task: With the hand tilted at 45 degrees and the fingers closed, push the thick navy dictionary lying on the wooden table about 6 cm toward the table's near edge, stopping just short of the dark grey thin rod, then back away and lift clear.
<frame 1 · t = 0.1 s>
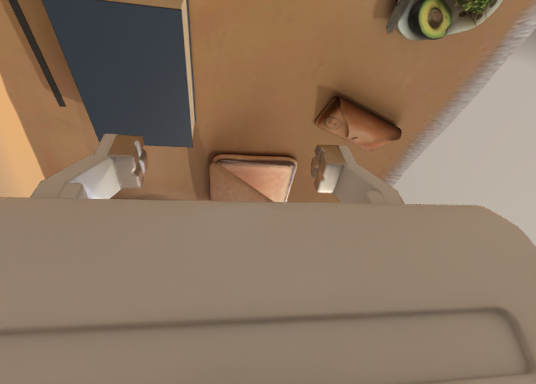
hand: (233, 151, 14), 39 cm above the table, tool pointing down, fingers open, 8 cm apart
sunglasses case: (356, 123, 63), on the table
case: (251, 181, 75), on the table
dark grey thin rod: (37, 52, 46), on the table
dictionary: (143, 61, 49), on the table
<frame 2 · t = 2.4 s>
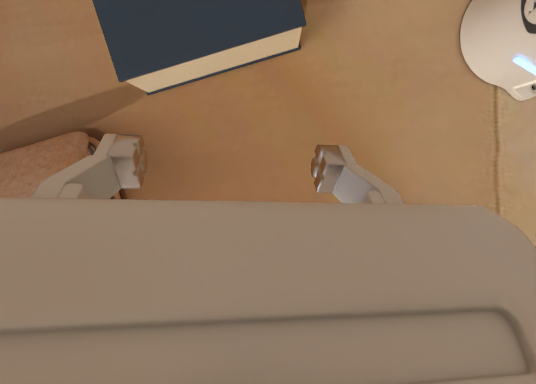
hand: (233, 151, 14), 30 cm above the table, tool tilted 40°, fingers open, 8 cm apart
case: (63, 212, 45), on the table
dictionary: (206, 15, 41), on the table
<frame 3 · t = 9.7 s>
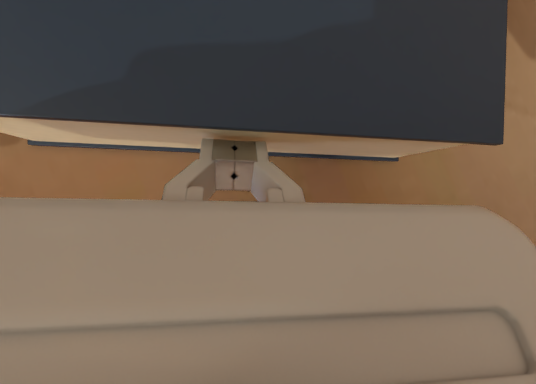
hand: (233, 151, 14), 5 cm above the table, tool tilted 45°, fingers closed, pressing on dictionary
dictionary: (233, 29, 19), on the table, touching gripper
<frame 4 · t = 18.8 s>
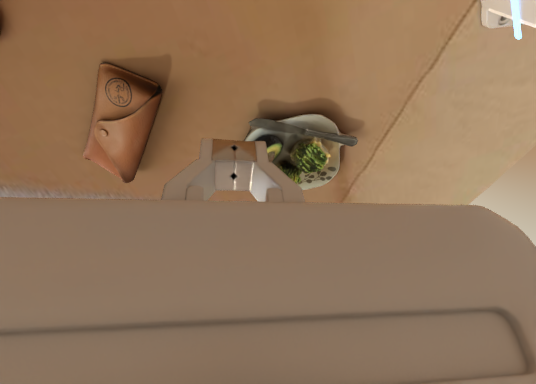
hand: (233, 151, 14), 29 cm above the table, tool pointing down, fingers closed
sunglasses case: (121, 124, 45), on the table
salad plate: (288, 152, 52), on the table
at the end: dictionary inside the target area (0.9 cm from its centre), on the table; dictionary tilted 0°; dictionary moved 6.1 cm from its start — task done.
